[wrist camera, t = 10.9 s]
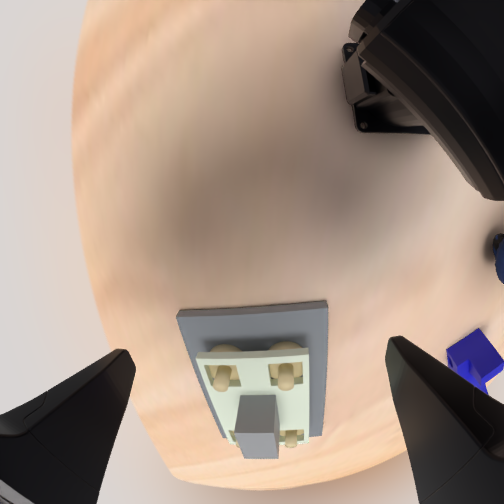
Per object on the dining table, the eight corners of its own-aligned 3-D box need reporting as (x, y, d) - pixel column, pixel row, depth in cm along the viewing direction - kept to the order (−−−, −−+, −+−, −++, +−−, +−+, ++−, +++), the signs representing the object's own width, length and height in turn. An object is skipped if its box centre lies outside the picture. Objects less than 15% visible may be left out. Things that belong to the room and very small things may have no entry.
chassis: (326, 300, 21) (335, 336, 17) (321, 429, 27) (323, 459, 23) (179, 310, 22) (160, 343, 18) (224, 431, 29) (218, 460, 25)
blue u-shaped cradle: (445, 348, 22) (468, 386, 16) (477, 326, 21) (504, 361, 15) (450, 399, 25) (464, 432, 20) (476, 383, 24) (493, 413, 18)
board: (308, 347, 20) (312, 395, 15) (308, 437, 24) (309, 473, 20) (198, 352, 21) (181, 396, 16) (230, 438, 26) (224, 473, 21)
